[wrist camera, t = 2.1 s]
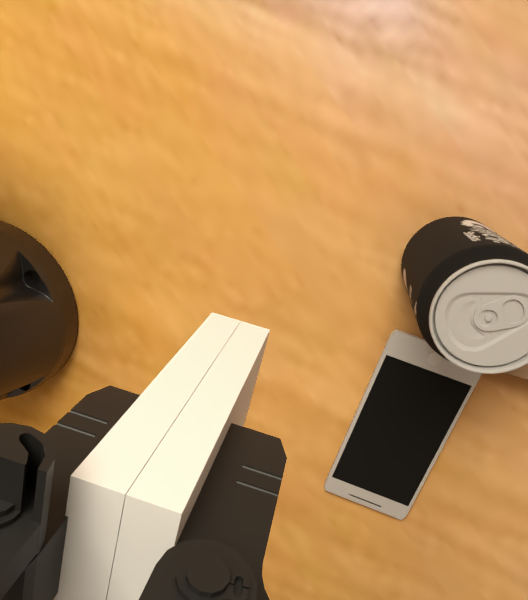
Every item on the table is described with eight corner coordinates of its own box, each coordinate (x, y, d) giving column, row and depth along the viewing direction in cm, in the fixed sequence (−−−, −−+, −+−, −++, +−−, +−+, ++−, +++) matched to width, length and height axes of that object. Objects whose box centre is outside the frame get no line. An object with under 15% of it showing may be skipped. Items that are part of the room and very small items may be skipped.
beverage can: (389, 232, 35) (403, 276, 24) (486, 201, 33) (552, 231, 22) (414, 317, 36) (440, 396, 25) (509, 291, 34) (582, 363, 23)
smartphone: (485, 359, 37) (488, 364, 36) (403, 514, 42) (403, 522, 41) (392, 325, 37) (393, 330, 36) (323, 483, 42) (322, 490, 42)
